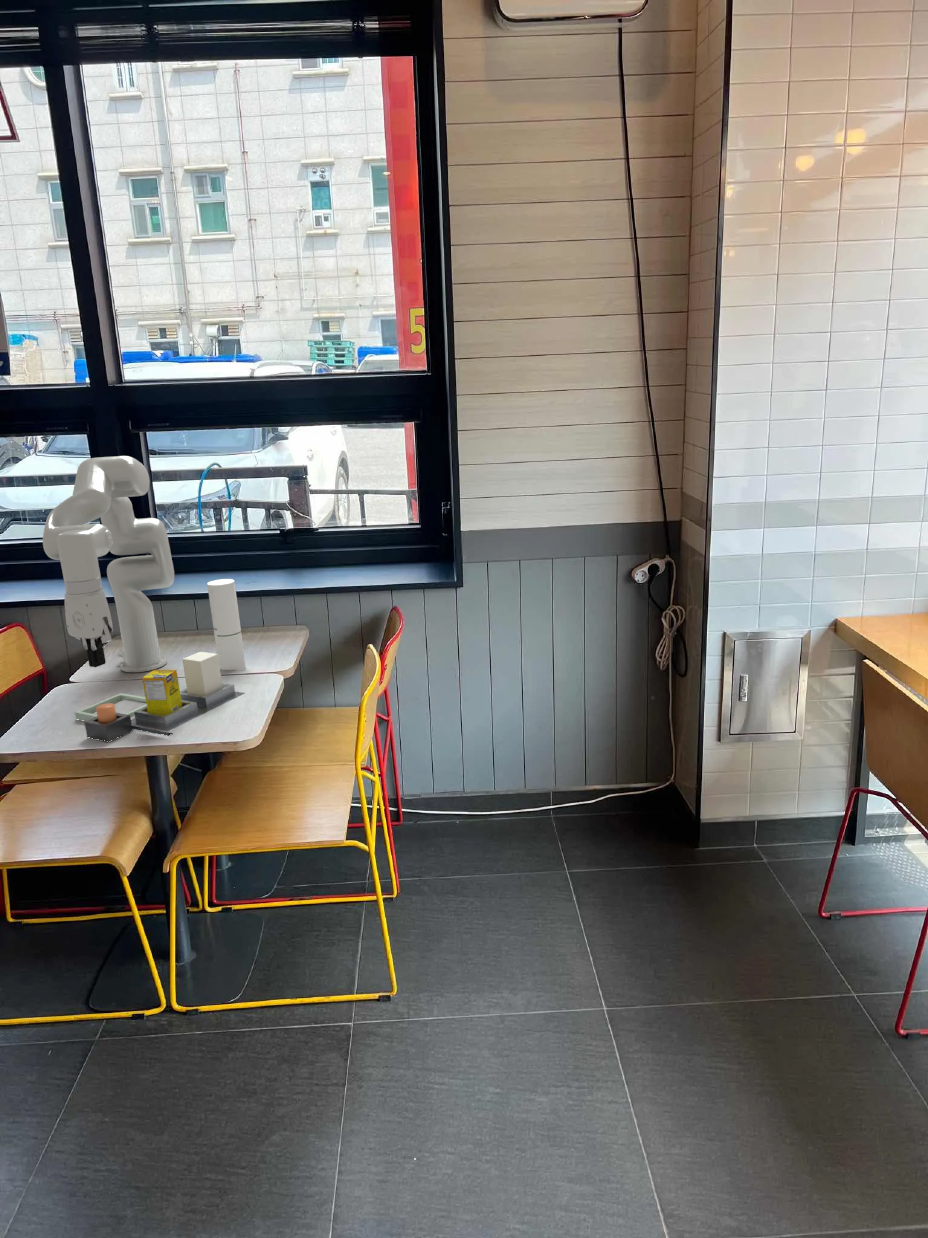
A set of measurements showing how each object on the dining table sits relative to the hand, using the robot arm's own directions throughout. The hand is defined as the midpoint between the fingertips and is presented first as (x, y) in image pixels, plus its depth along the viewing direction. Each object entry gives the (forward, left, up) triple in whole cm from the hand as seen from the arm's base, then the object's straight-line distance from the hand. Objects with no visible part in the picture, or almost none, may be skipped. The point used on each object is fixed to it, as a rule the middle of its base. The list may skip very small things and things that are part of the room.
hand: (97, 665), depth 202 cm
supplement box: (+7, +11, -16) cm, 21 cm away
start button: (0, 0, -14) cm, 14 cm away
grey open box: (+7, +18, -17) cm, 25 cm away
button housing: (0, 0, -17) cm, 17 cm away
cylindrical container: (-5, +47, -17) cm, 50 cm away
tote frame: (-9, +11, -17) cm, 22 cm away
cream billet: (+7, +24, -16) cm, 30 cm away
